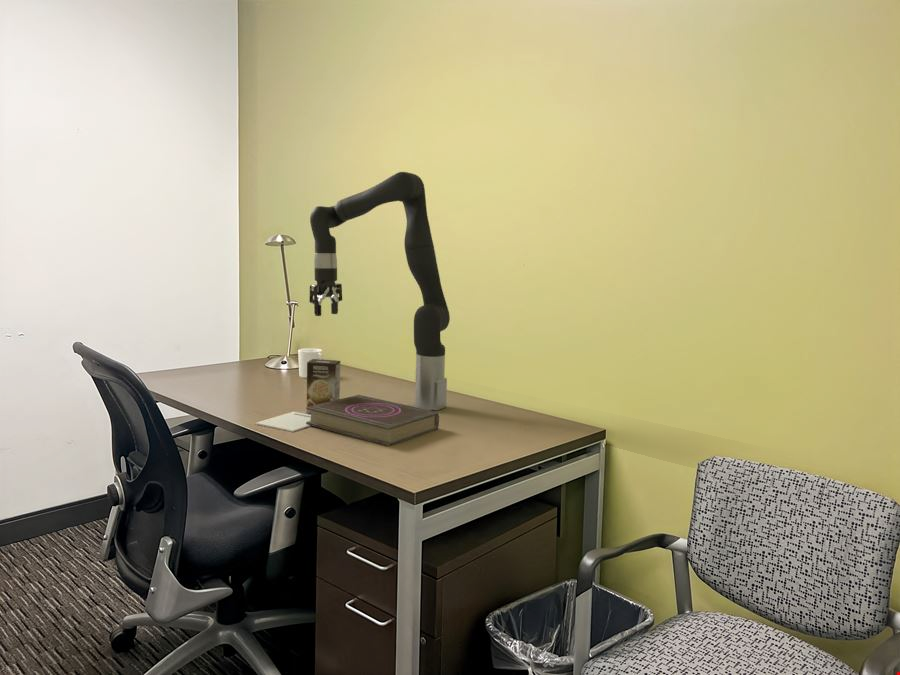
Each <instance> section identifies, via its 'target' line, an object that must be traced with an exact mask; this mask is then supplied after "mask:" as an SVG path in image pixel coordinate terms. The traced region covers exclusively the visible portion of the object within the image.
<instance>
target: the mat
mask: <svg viewBox="0 0 900 675" xmlns="http://www.w3.org/2000/svg"><path fill="white" fill-rule="evenodd" d="M310 419H311V414H306V413H303V412H297V411H291V412H288V413H284V414H279V415H277V416H274V417H270V418H268V419H264V420H261V421H257V422H255V425H256V424H257V426H261V427H262V426H263V427H267V428H271V429H277V430H282V431H285V430H286V432H290V433H295V432H297V431H301V430H303V429H307V428H309V427H313V426H312V425H308V424H306V422H308V421H310Z"/></svg>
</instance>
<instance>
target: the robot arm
mask: <svg viewBox="0 0 900 675" xmlns="http://www.w3.org/2000/svg"><path fill="white" fill-rule="evenodd" d="M426 199H427V198H426V190H425V185H424V181H423V180H422V178H421V177H420V176H419V175H417V174H415V173H411V172H408V171H398V172H396V173H395V174H392V175H391V176H390V177H388V178H386V179H384V180H383V181H381V182H379V183H378V184H375V185H374V186H372V187H370V188H368V189H366V190H363V191H361V192H358V193H356V194H353V195H350V196H347V197H344V198H342V199H340V200H338V201H337V202H336V204H335V205H331V206H323V205H318V206H315V207H314V208H313V209H312V210H311V212H310V217H309V218H310V219H309V222H310V228H311V232H312V235H313V238H314V258H313V259H314V262H313V263H314V264H313V266H314V268H313V269H314V281H315V282H316V284H310V285H309V303H310V304H312V305H314V306H313V307H314V315H315V316H316V317H322V303H323V300H325V299H326V298H328V299H330V302H331V304H330V309H331V310H330V312H331V314H332V315H338V313H339V302H341V301H343V284H342V283H339V282H338V283H336V282H337V281H338V259H337V239H336V237H335V236H333V235H332V234H331V232H330V229H334V228H337V227H339V226H341V225H343V224H344V223H346V222H347V221H350V220H352V219H356V218H359V217H361V216H364V215H366V214H367V213H369V212H371V211H372V210H374V209H375V208H377V207H379V206H382V205H384V204H388V203H393V202H394V203H395V202H401V203H402V204H403V208H404V212H405V218H406V228H405V232H404V233H405V234H404V251H405V257H406V262H407V266H408V269H409V271H410V273H411V275H412V277H413V278H414V279H415V282H416V284H417V285H418V288H419V290H420V292H421V296H422V302H423V303H422V304H423V305H421V306H419V307H418V308H417V309H416V311H415V313H414V317H413V343H414V347H415V352H416V353H415V383H414V384H415V385H414V386H415V387H414V388H415V389H414V407H417V408H421V409H426V410H430V411H440V410H442V409H444V408H446V407H447V389H448V386H447V385H448V379H447V377H445V373H446V372H445V368H446V347H445V345H444V344H443V343H442V342H441V332H442V331H444V330H446V329H447V328H448V326H449V324H450V320H451V319H450V312H449V307H448V304H447V300H446V298H445V294H444V291H443V288H442V287H443V286H442V284H441V277H440V272H439V271H440V270H439V267H438V262H437V256H436V251H435V244H434V241H433V237H432V233H431V227H430V226H431V225H430V221H429V217H428V210H427V200H426Z"/></svg>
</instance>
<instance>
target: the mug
mask: <svg viewBox="0 0 900 675" xmlns="http://www.w3.org/2000/svg"><path fill="white" fill-rule="evenodd" d="M297 352H298V353H297V354H298V357H297V358H298V371H299V373H298V374H299V378H300V379H306V380H307V362H309V361H310V360H312V359H322V360H324V356H323V350H322V349H320V348H313V347H312V348H310V347H309V348H300V349H298V350H297Z"/></svg>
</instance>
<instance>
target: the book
mask: <svg viewBox="0 0 900 675" xmlns="http://www.w3.org/2000/svg"><path fill="white" fill-rule="evenodd" d="M305 409H307V410H310V411H311V414H310V415H311V419H310V421H308V422H306V424H308V425H312V426H311V427H316V428H320V429H324V430H328V431H331V432H335V433H338V434H342V435H345V436H346V435H347V436H349V437H353V438H356V439H360V440H365V441H368V442H371V443H375V444H378V445H379V444H380V445H383V446H387V447H390V446H393V445H396V444H398V443H401V442H404V441H408V440H411V439H414V438H416V437H419V436H421V435H425V434H427V433H430V432H433V431H436V430H438V429H439V426H440V414H439V412H438V411H436V410H426V409H421V408H417V407H415V406H411V405H406V404H402V403H398V402H393V401H389V400H385V399H380V398H376V397H371V396H366V395H362V394H355V395H351V396H349V397H343V398H340V399H339V400H335V401H330V402H326V403H322V404H318V405H314V406H309V407H307V406H306V408H305Z"/></svg>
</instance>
